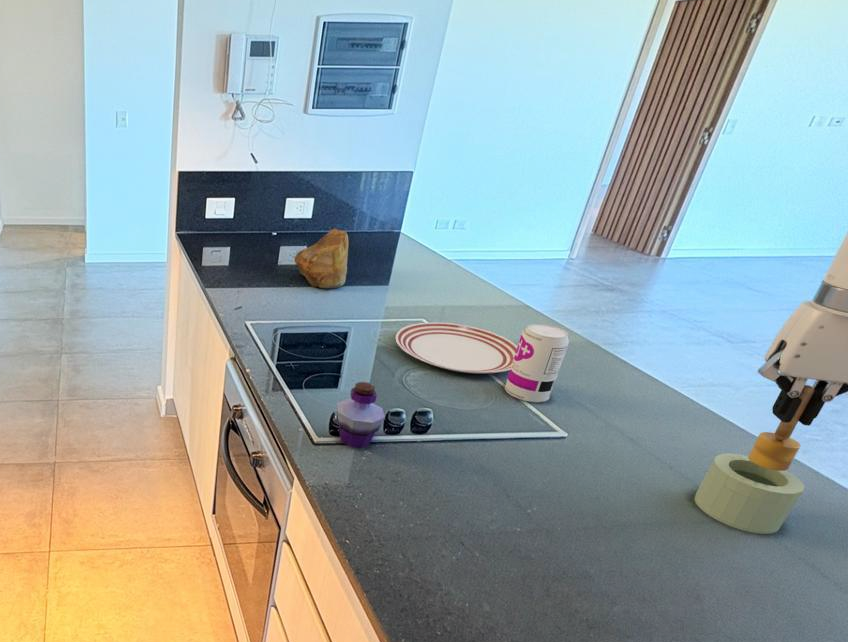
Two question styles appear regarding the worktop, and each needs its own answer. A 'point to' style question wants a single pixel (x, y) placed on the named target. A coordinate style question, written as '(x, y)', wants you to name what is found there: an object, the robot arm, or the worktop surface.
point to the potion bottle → (359, 416)
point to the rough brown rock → (325, 260)
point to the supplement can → (537, 362)
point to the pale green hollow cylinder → (747, 494)
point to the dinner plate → (457, 347)
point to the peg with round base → (780, 440)
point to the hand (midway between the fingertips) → (790, 418)
